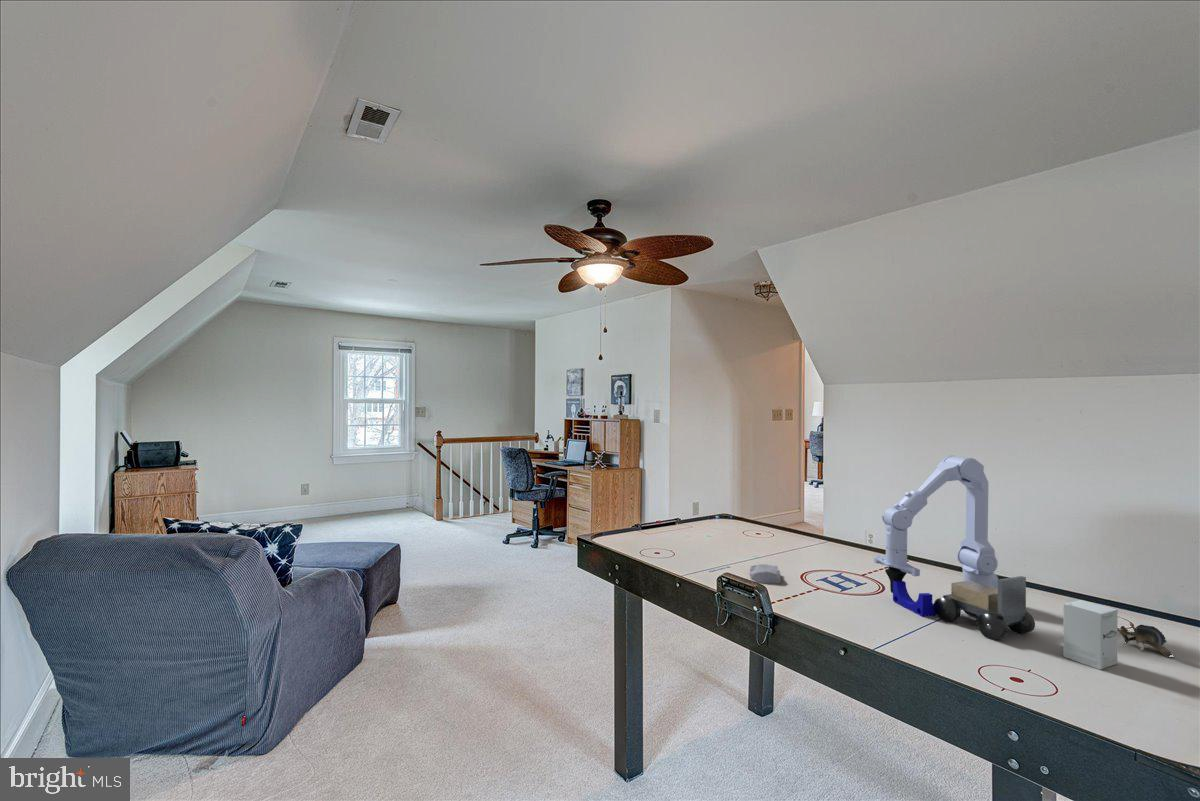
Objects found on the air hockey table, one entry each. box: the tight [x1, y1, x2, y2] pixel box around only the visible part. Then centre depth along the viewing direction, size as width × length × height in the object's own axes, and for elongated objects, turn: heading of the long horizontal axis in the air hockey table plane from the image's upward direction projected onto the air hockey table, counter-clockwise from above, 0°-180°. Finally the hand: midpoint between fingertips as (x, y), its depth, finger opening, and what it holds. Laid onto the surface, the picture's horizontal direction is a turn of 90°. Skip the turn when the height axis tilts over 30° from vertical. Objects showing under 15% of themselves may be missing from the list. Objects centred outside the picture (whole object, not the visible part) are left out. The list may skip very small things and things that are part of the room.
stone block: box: [748, 563, 782, 585], centre depth 183 cm, size 12×5×10 cm
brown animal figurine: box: [1118, 622, 1173, 658], centre depth 130 cm, size 8×7×9 cm
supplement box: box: [1062, 599, 1119, 671], centre depth 124 cm, size 7×7×13 cm
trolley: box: [933, 575, 1036, 640], centre depth 143 cm, size 13×18×15 cm
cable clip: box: [892, 579, 938, 618], centre depth 156 cm, size 12×4×6 cm, turn 8°
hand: (895, 593), depth 163 cm, fingers closed
